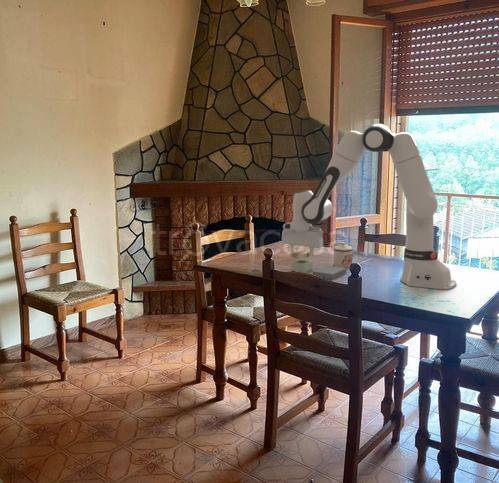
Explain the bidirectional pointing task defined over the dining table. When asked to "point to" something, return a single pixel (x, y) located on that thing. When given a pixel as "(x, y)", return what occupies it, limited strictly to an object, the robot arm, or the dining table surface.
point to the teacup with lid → (343, 255)
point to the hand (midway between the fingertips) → (301, 255)
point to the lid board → (300, 254)
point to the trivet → (330, 272)
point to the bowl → (302, 266)
